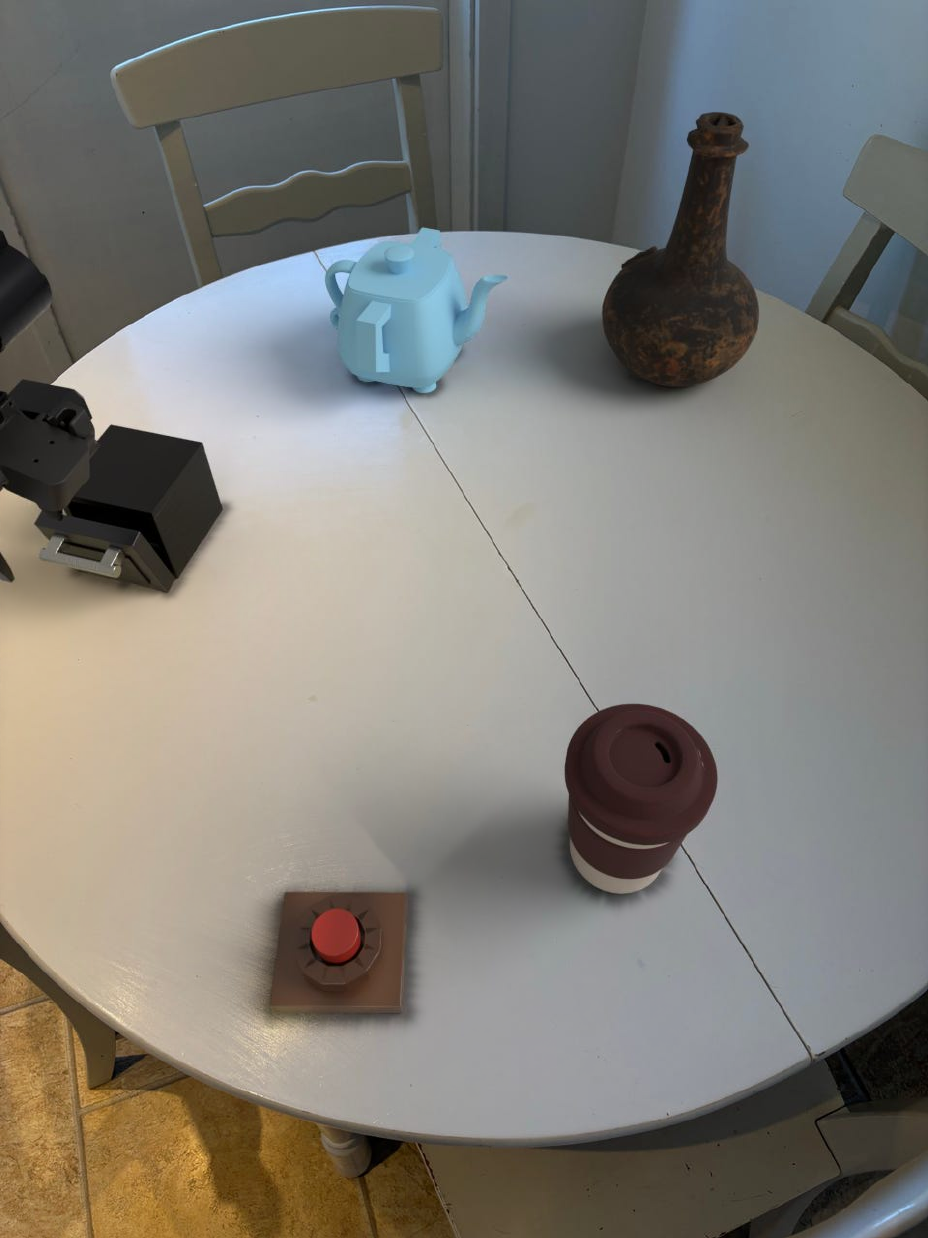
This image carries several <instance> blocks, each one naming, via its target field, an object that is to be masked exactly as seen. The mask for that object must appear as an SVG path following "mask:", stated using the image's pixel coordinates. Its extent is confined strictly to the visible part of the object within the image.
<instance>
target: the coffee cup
mask: <svg viewBox="0 0 928 1238" xmlns="http://www.w3.org/2000/svg"><path fill="white" fill-rule="evenodd" d="M566 749H567V750H566V755H565V760H564V782H565V788H566V791H567V792H568V801H567V802H568V804H567V805H568V807H567V827H568V834H569V851H570V852H569V853H570V855H571V859H572V861H573V864H574V866H575V868H576V869H577V871H578V872H579V874H580V875H581V876H582V877H583V878H584V879H585V880H586V881H587V882H588V883H590V884H591V885H592V886H594V887H595V888H598V889H600V890H601V891H604V892H608V893H611V894H621V895H622V894H631V893H635V892H639V891H641V890H643V889H645V888H647V887H648V886H649V885H651V884H652V883H653V882H654V881H655V880H656V879H657V877H658V876H659V875H660V873H661V871H662V870H663V869H664V868H665V867H666V866H667V865H668V864H669V863H670V862H671V861H672V859H673V858H674V856H675V855H676V853H677V851H678V850H679V849H680V847H681V846H682V844H683V842H684V841H685V839H686V837H687V836H688V834H690V833H691V832H692V831H693V830H695V829H696V828H697V827H698V826H700V824H701V823H702V822H703V820H704V819H705V817H706V816H707V814H708V813H709V810H710V808H711V806H712V804H713V802H714V799H715V796H716V793H717V789H718V781H719V780H718V777H719V776H718V769H717V762H716V760H715V757H714V754H713V752H712V750H711V748H710V747H709V744H708V743H707V741H706V739H705V738H704V737H703V736H702V734H700V733H699V731H698V730H697V729H696V728H695V727H694V726H693V725H691V724H690V723H689V722H688V721H687V720H685V719H684V718H682V717H681V716H678V715H677V714H676V713H674V712H672V711H669V710H666V709H664V708H662V707H659V706H655V705H650V704H644V703H622V704H617V705H611V706H609V707H605V708H602V709H600V710H599V711H597V712H595V713H593V714H591V716H589V717H587V719H585V720H584V721H583V722H581V724H580V725H579V726H578V727H577V728H576V730H575V732H574V733H573V734H572V736H571V738H570V740H569V743H568V745H567V748H566Z"/></svg>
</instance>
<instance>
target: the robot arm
mask: <svg viewBox="0 0 928 1238" xmlns="http://www.w3.org/2000/svg"><path fill="white" fill-rule="evenodd" d="M52 302H53V291H52V288H51V284H50V282H49V280H48V277H47V276H46V275H45V274H44V273H42V272H41V271H40V269H39V268H38V267H37V266H36V264H35V263H34V262H33V261H32V260H31V259H30V258H29V257H28V256H26V255H25V254H24V253H23V252H22V251H20V249H19V250H18V249H17V248H16V247H14V246H13V245H11V244H9V242H8V240H7V237H6V235H5V233H4V230H2V229H0V354H1V353H2V352H4V350H6V349H7V348H8V347H9V346H10V345H11V344H12V343H13V342H14V341H15V340H16V339H17V338H18V337H19V336H20V335H21V334H22V333H24V332H25V331H26V330H27V329H28V328H29V327H30V326H31V325H32V324H33V323H34V322H35V321H36V320H37V319H38V318H39V317H40V316H42V315H43V314H44V313H45V312H46V311H47V310H48V309H49V308H50V306H51V304H52ZM92 419H93V415H92V413H91V411H90V409H89V406H88V404H87V401H86V399H85V397H84V396H83V395H82V394H81V393H80V392H78V391H77V390H76V389H75V388H71V387H66V386H60V385H55V384H51V383H44V382H41V381H35V380H29V379H24V378H22V379H21V380H20V381H19V382H18V383H17V384H16V385H15V386H14V387H13V388H12V389H11V390H10V391H9V392H7V391H3V390H0V492H1V491H3V489H4V490H6V491H8V492H9V493H12V494H14V495H16V496H18V497H21V498H23V499H25V500H27V501H30V502H32V503H34V504H35V505H36V506H37V507H38V508H39V509H40V511H42V512H43V513H44V514H45V515H46V516H47V517H48V518H49V519H50V520H52V521H56V522H61V521H62V519H63V515H64V510H63V509H64V508H66V507H67V506H68V504H69V503H70V501H71V499H72V498H73V496H74V495H75V494H76V493H77V491H78V490H79V489H80V488H81V486H82V485H83V484H85V483H86V482H87V481H88V479H89V477H90V468H89V459H90V458H91V457H92V456H93V455H94V453H95V452H96V451H97V449H98V448H99V447H100V444H99V443H98V441H97V440H98V439H96V430H95V426H94V424H93V422H92ZM0 581H3V582H6V583H13V582H14V581H15V575H14V573H13V570H12V568H11V566H10V564H9V563H8V562H7V560H6V558H5V557H4V556H3V554H2V553H1V551H0Z"/></svg>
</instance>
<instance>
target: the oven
mask: <svg viewBox="0 0 928 1238" xmlns="http://www.w3.org/2000/svg"><path fill="white" fill-rule="evenodd" d="M96 440H97V441H98V443H99V444H100V447H99V448H98V449H97V451H96V452H95V453H94V455H93V456H92V457H91V458H90V459H89V468H90V477H89V479H88V481H87V482H86V483H85V484H83V485H82V486H81V488H80V489H79V490H78V491H77V493H76V494H75V495H74V496H73V498H72V499H71V501H70V503H69V504H68V506H67V507H66V508H64V509H63V513H64V515H67V516H71V517H76V518H80V519H85V520H89V521H94V522H98V523H103V524H107V525H112V526H116V527H121V528H125V529H130V530H134V531H139V532H141V534H142V535H143V536H144V538H145V539H146V540H147V542H148V543H149V544H150V546H151V547H152V548H153V550H154V551H155V552H156V554H157V555H158V556H159V558H160V559H161V560H162V562H163V563H164V564H165V566H166V567H167V568H168V570H169V571H170V572H171V574H172V575H173V576H174V578H175V579H176V580H177V579H179V578H180V577H181V574H182V573H183V572H184V570H185V568H186V567H187V565H188V564H189V562H190V561H191V559H192V558H193V556H194V555H195V553H196V552H197V550H198V549H199V547H200V546H201V544H202V542H203V541H204V539H206V536H207V535H208V533H209V532H210V530H211V528H212V527H213V525H214V524H215V522H216V521H217V519H218V518H219V516H220V515H221V514H222V513H223V512H222V511H223V510H224V507H223V504H222V502H221V499H220V498H221V497H220V495H219V491H218V489H217V486H216V482H215V479H214V476H213V473H212V469H211V466H210V463H209V460H208V457H207V454H206V450H205V447H204V443H203V442H201V441H198V440H197V441H196V440H192V439H187V438H181V437H177V436H172V435H166V434H162V433H156V432H151V431H146V430H141V429H137V428H132V427H126V426H121V425H117V424H112V423H111V424H110V425H109V426H108V427H107V428H106V430H105V431H104V432H103V433H102V434H101V435H100V437H99V438H98V439H96Z"/></svg>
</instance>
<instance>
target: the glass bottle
mask: <svg viewBox="0 0 928 1238" xmlns="http://www.w3.org/2000/svg"><path fill="white" fill-rule="evenodd" d="M695 125H696V128H694V129H691V130H690V131H689V132H688V134H687V138H686V142H687V146H688V147H689V148H690V149H691V150H692V153H691V158H690V161H689V166H688V170H687V175H686V179H685V182H684V187H683V191H682V194H681V199H680V203H679V206H678V209H677V213H676V217H675V220H674V223H673V226H672V229H671V232H670V235H669V238H668V241H667V242H666V245H665V247H663V248H659V249H658V247H657V246H656V245H653V246H651V247H649V248H647V249H645V250H644V251H642V250H641V251H639V252H637V253H636V254H635V255H634V256H633V257H631V258H629V259H626V261H624V263H621V266H620V268H621V269H620V270H619V272H618V273H617V274H616V275H615V276H614V278H613V279H612V281H611V282H610V285H609V287H608V288H607V291H606V292H605V293H606V294H605V295H604V299H603V303H602V310H601V317H602V318H601V320H602V327H603V331H604V335H605V338H606V341H607V343H608V345H609V347H610V349H611V351H612V352H613V354H614V355H615V357H616V358H617V359H618V361H619V362H620V363H621V364H622V365H623V366H624V367H625V368H626V369H627V370H628V371H630V372H631V373H632V374H633V375H635V376H636V377H638V378H640V379H642V380H644V381H646V382H649V383H652V384H655V385H658V386H659V385H660V386H663V387H674V388H677V387H678V388H679V387H680V388H681V387H690V386H691V387H692V386H696V385H700V384H704V383H706V382H709V381H712V380H715V379H717V378H718V377H720V376H722V375H724V374H725V373H726V372H727V371H729V370H730V369H732V368H733V367H734V366H735V365H736V364H738V362H739V361H740V360H741V359H742V358H743V357H744V356H745V355H746V354H747V352H748V351H749V349H750V347H751V346H752V343H753V342H754V339H755V337H756V334H757V331H758V329H759V328H758V326H759V321H760V320H759V319H760V306H759V300H758V296H757V293H756V290H755V287H754V286H753V284H752V282H751V281H750V279H749V277H747V276H746V274H745V273H744V272H743V271H742V270H741V269H740V268H739V267H738V266H737V265H736V264H734V263H733V262H732V261H730V260H728V255H727V254H728V253H727V233H728V222H729V211H730V201H731V195H732V188H733V182H734V175H735V170H736V164H737V158H738V156H739V155H742V154H745V152H747V151H748V149H749V147H750V144H749V142H748V141H747V140H745V139H744V138H743V137H742V134H743V131H744V128H745V125H744V123H743V121H742V120H741V119H740V118H739V116H737V115H735V114H732V113H728V112H722V111H710V112H706V113H701V114H700V116H699V117H698V118H697V119H695Z"/></svg>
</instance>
